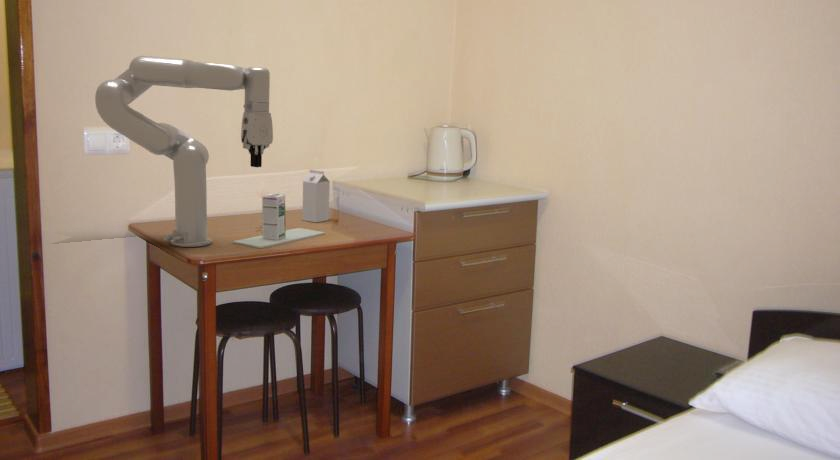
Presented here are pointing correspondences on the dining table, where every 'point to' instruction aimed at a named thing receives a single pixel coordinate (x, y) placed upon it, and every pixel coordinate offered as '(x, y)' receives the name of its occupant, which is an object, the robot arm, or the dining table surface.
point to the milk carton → (316, 197)
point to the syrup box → (273, 216)
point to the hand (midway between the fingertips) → (255, 166)
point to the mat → (290, 236)
